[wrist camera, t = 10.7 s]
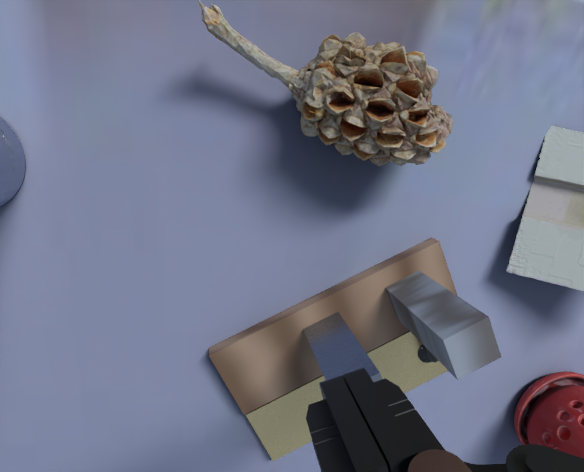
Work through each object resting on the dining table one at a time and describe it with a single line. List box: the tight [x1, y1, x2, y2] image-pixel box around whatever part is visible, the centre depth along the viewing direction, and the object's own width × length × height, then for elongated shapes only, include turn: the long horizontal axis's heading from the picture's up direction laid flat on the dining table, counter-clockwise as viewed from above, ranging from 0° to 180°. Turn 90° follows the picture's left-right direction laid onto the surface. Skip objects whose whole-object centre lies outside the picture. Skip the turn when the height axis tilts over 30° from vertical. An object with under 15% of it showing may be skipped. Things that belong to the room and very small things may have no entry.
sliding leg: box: [303, 312, 382, 382], centre depth 37 cm, size 4×10×11 cm, turn 24°
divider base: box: [209, 238, 501, 415], centre depth 37 cm, size 26×12×12 cm, turn 114°
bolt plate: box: [246, 331, 448, 461], centre depth 44 cm, size 26×7×1 cm, turn 114°
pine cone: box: [198, 0, 453, 167], centre depth 31 cm, size 22×10×10 cm, turn 71°
